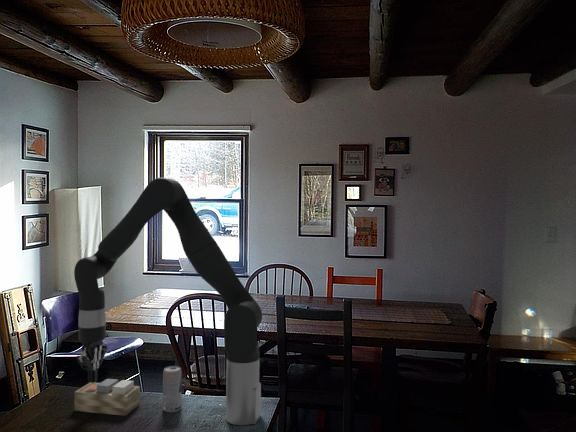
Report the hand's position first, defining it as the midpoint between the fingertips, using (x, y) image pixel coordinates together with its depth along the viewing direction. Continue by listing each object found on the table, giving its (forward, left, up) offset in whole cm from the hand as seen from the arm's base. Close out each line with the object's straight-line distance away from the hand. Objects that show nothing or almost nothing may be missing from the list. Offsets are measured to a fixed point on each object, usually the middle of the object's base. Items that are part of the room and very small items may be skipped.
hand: (92, 381), depth 149 cm
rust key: (0, 0, -5) cm, 5 cm away
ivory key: (-10, 0, -3) cm, 10 cm away
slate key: (-5, 0, -3) cm, 6 cm away
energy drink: (-24, -3, -8) cm, 25 cm away
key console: (-5, 0, -7) cm, 9 cm away
